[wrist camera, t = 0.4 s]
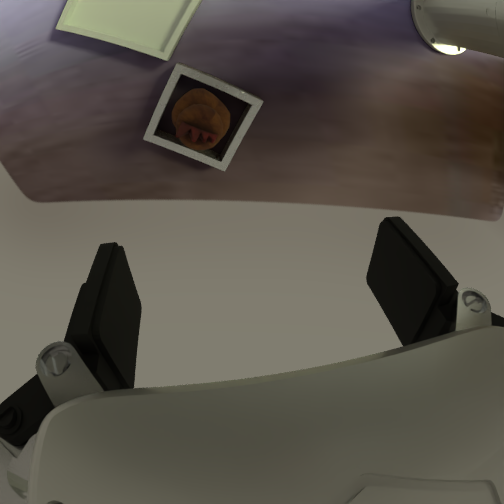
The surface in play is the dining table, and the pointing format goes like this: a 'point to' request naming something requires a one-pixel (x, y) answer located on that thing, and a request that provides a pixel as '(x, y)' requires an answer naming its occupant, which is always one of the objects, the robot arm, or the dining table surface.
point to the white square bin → (207, 155)
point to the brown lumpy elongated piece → (200, 119)
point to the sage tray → (131, 22)
